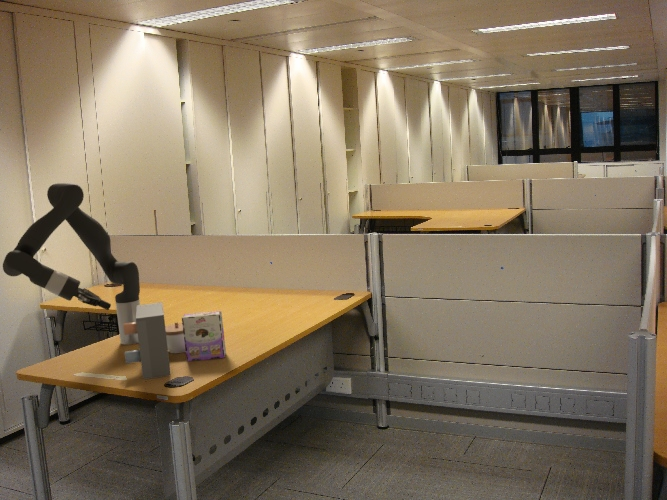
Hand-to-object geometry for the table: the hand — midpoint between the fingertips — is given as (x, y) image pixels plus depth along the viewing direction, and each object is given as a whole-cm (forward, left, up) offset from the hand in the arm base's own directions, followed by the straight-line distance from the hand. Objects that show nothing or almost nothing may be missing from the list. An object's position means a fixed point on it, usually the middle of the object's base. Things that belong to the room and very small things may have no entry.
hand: (109, 307), depth 232 cm
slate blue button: (+6, +12, -18) cm, 22 cm away
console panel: (-3, +14, -23) cm, 27 cm away
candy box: (-16, +27, -23) cm, 39 cm away
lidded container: (-23, +11, -23) cm, 34 cm away
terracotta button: (-4, +6, -11) cm, 13 cm away
